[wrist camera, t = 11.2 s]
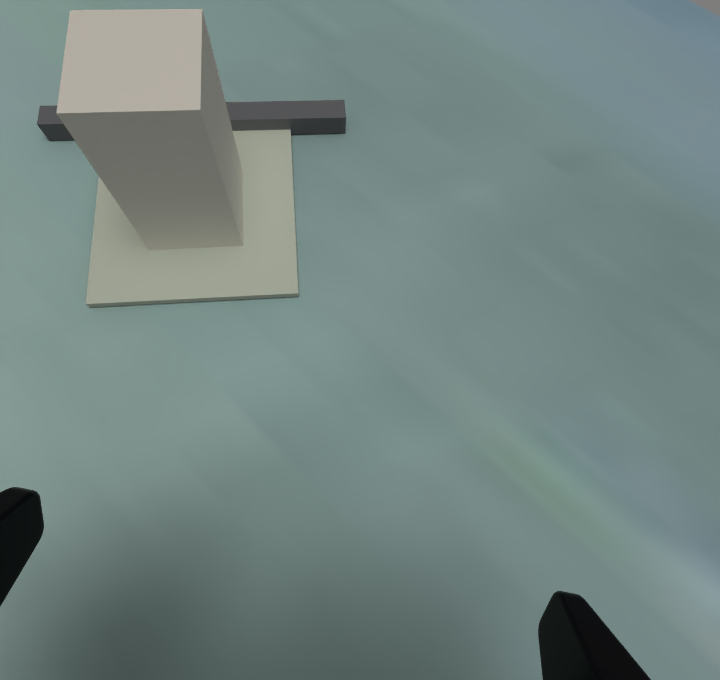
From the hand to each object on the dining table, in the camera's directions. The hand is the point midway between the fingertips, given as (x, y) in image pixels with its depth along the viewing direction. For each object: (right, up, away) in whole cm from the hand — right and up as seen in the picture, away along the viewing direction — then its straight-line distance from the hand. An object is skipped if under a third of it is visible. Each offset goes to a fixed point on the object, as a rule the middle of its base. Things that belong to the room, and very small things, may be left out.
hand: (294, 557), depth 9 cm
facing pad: (-7, +10, +17) cm, 22 cm away
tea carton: (-7, +11, +17) cm, 21 cm away
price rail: (-8, +16, +19) cm, 26 cm away
